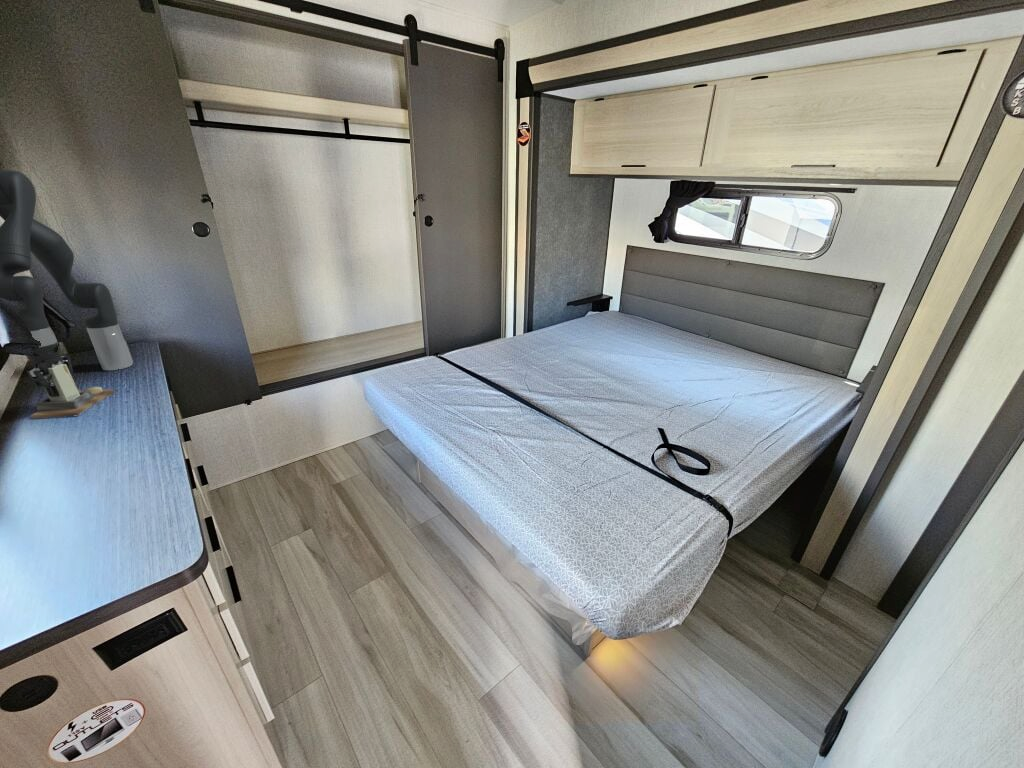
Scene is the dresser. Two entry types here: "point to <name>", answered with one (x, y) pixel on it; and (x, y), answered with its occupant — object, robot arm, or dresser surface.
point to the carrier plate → (71, 404)
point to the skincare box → (63, 383)
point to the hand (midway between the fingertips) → (61, 392)
